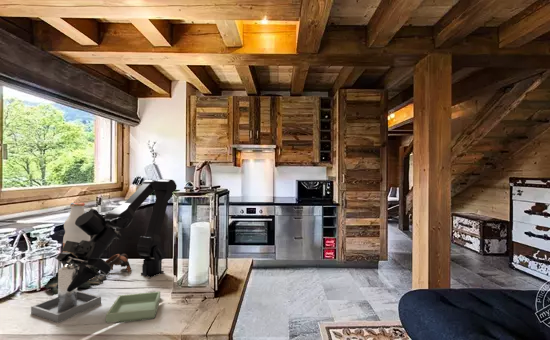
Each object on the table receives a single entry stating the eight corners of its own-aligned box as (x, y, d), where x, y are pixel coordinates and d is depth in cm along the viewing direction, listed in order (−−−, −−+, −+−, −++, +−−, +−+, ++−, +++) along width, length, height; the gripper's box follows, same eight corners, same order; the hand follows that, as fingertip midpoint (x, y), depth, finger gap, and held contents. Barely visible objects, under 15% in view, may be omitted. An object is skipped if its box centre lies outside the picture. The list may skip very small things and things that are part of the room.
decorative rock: (94, 263, 113) (117, 267, 106) (94, 279, 113) (117, 283, 106) (38, 276, 97) (60, 281, 90) (37, 294, 96) (59, 300, 89)
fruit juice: (58, 270, 115) (59, 203, 116) (83, 264, 123) (84, 201, 124) (69, 275, 111) (70, 205, 111) (94, 268, 119) (95, 202, 119)
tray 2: (118, 303, 87) (118, 295, 87) (160, 299, 91) (160, 291, 91) (105, 324, 76) (106, 314, 76) (154, 318, 79) (154, 309, 79)
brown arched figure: (128, 276, 111) (116, 260, 109) (107, 286, 111) (94, 271, 109) (138, 259, 123) (128, 245, 121) (119, 269, 123) (108, 254, 121)
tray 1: (75, 297, 91) (75, 289, 91) (101, 304, 86) (101, 296, 86) (31, 315, 80) (31, 306, 80) (57, 324, 75) (58, 315, 75)
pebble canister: (72, 303, 86) (73, 261, 86) (79, 306, 84) (80, 264, 84) (54, 309, 82) (55, 265, 82) (62, 313, 80) (62, 268, 80)
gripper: (62, 227, 90) (20, 272, 80) (102, 232, 83) (62, 282, 73) (86, 245, 98) (51, 289, 87) (125, 251, 91) (91, 299, 80)
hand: (62, 289), depth 82 cm, fingers closed on pebble canister, 5 cm apart
